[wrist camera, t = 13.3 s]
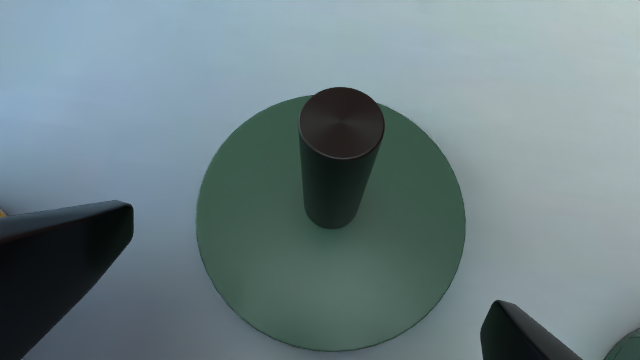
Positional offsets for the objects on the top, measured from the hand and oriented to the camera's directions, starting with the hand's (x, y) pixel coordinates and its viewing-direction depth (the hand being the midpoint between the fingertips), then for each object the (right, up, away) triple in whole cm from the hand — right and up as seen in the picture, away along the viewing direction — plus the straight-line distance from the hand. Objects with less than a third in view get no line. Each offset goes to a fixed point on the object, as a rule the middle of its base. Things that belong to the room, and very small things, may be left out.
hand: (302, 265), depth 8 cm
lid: (+1, +1, +9) cm, 9 cm away
